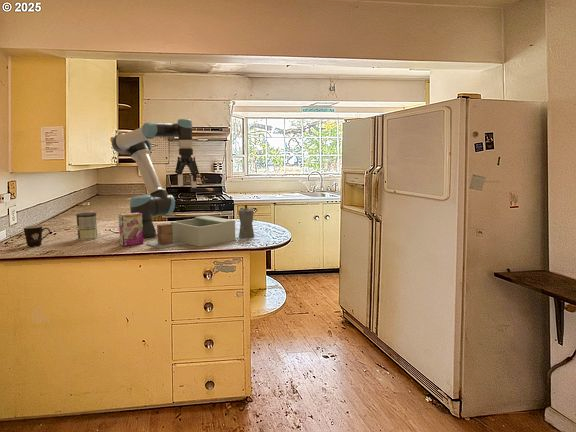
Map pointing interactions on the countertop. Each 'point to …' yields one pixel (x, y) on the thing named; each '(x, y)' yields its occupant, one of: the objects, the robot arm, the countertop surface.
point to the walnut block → (165, 234)
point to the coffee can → (87, 226)
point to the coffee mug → (34, 235)
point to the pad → (165, 245)
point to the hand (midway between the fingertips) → (187, 186)
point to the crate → (203, 230)
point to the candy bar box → (131, 229)
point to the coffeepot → (246, 222)
